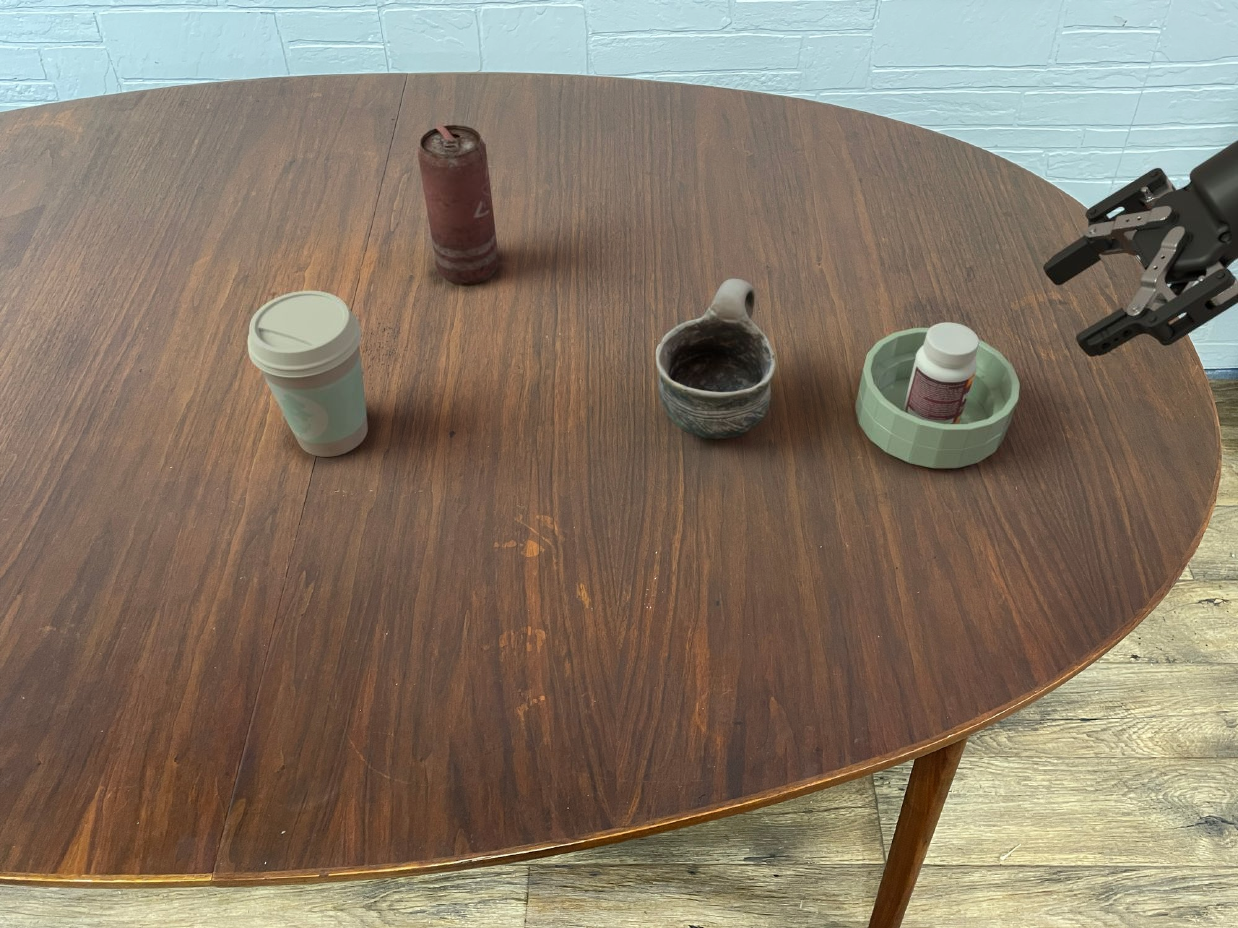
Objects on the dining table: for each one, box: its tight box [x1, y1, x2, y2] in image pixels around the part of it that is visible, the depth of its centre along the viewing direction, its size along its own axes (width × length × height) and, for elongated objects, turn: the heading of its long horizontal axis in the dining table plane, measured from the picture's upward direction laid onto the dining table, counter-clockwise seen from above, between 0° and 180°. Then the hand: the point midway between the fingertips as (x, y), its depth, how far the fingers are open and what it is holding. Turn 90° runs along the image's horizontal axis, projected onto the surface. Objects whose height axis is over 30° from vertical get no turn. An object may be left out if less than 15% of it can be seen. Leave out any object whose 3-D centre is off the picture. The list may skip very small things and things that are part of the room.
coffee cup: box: [247, 290, 369, 458], centre depth 83 cm, size 9×8×12 cm
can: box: [417, 124, 500, 286], centre depth 98 cm, size 6×6×14 cm
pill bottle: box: [903, 321, 980, 424], centre depth 84 cm, size 5×5×8 cm
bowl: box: [854, 327, 1021, 469], centre depth 86 cm, size 12×12×5 cm
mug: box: [655, 278, 776, 440], centre depth 85 cm, size 10×12×10 cm
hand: (1065, 311), depth 79 cm, fingers open, 8 cm apart
